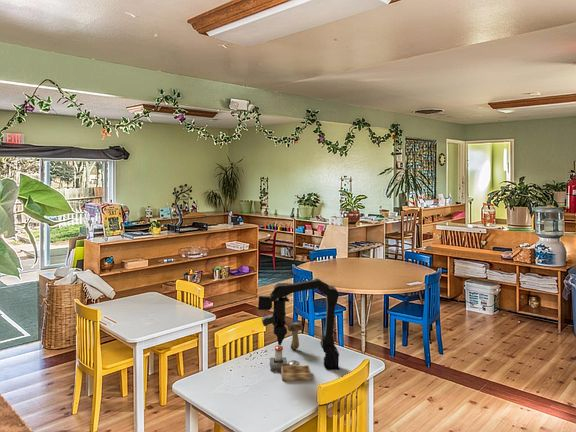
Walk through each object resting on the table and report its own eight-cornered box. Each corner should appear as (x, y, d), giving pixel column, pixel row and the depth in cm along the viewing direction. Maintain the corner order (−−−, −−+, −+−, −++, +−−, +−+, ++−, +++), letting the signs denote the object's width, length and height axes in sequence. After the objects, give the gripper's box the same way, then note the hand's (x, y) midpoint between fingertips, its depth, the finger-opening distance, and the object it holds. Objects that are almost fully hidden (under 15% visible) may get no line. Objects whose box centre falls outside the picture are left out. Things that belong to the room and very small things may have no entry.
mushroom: (296, 354, 231) (296, 326, 229) (282, 350, 236) (283, 323, 234) (306, 349, 238) (307, 322, 237) (293, 345, 243) (294, 318, 242)
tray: (308, 371, 211) (308, 365, 211) (311, 380, 202) (311, 373, 202) (280, 371, 210) (281, 365, 210) (282, 380, 201) (282, 374, 201)
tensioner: (298, 363, 220) (298, 357, 220) (300, 370, 212) (300, 364, 212) (269, 363, 219) (269, 357, 219) (270, 370, 211) (270, 364, 211)
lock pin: (282, 365, 217) (282, 345, 217) (282, 368, 213) (283, 348, 213) (274, 365, 217) (274, 345, 216) (274, 368, 213) (274, 348, 212)
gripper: (262, 304, 221) (261, 334, 223) (263, 316, 203) (262, 349, 204) (284, 304, 222) (283, 334, 224) (287, 316, 204) (286, 348, 205)
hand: (278, 341), depth 214 cm, fingers open, 9 cm apart
